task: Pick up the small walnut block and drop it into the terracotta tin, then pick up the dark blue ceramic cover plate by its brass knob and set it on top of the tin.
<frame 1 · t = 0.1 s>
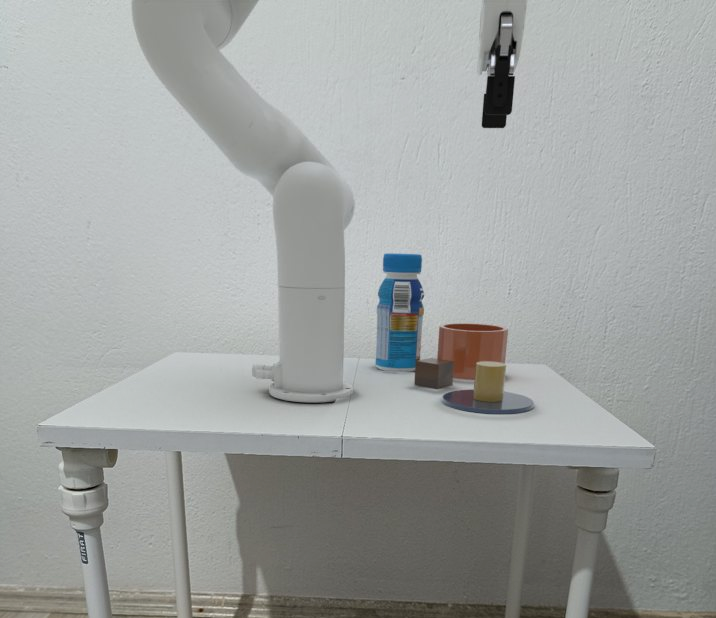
hand: (495, 121, 84), 37 cm above the table, tool pointing down, fingers open, 9 cm apart
cover: (487, 402, 95), point 1 cm above the table
beverage bottle: (397, 369, 122), on the table
block: (433, 388, 106), on the table
tin: (469, 376, 116), on the table
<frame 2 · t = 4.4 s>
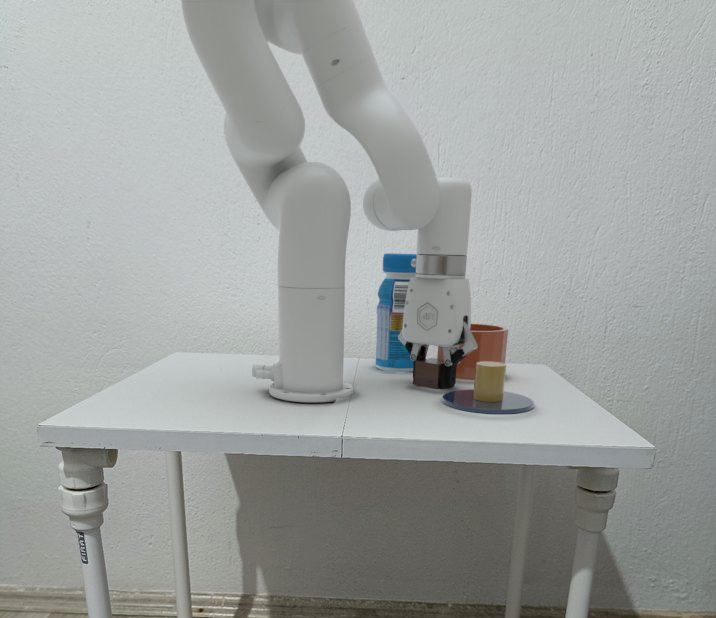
hand: (433, 386, 106), 0 cm above the table, tool pointing down, fingers closed on block, 4 cm apart
block: (433, 388, 106), on the table, touching gripper
everything else where it was.
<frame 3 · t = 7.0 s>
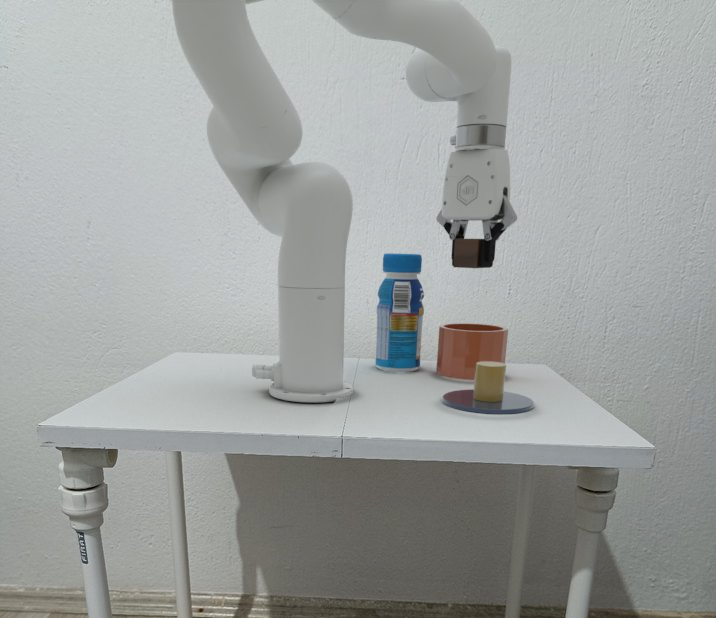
hand: (472, 265, 108), 19 cm above the table, tool pointing down, fingers closed on block, 4 cm apart
block: (472, 267, 108), point 18 cm above the table, touching gripper
everything else where it was.
when the fingers open (8 cm above the table, at t = 9.9 s): block drops 7 cm, resting on tin.
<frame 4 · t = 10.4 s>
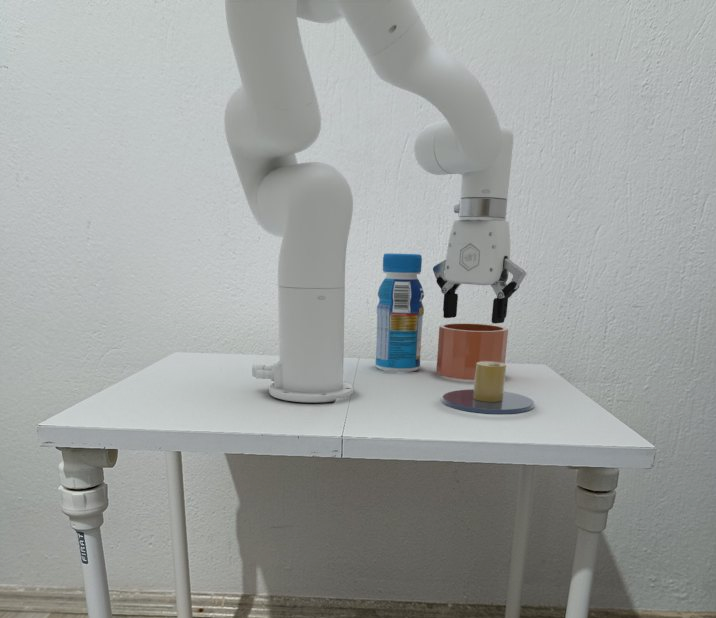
hand: (473, 320, 113), 10 cm above the table, tool pointing down, fingers open, 9 cm apart
block: (469, 373, 116), point 1 cm above the table, touching tin
everything else where it was.
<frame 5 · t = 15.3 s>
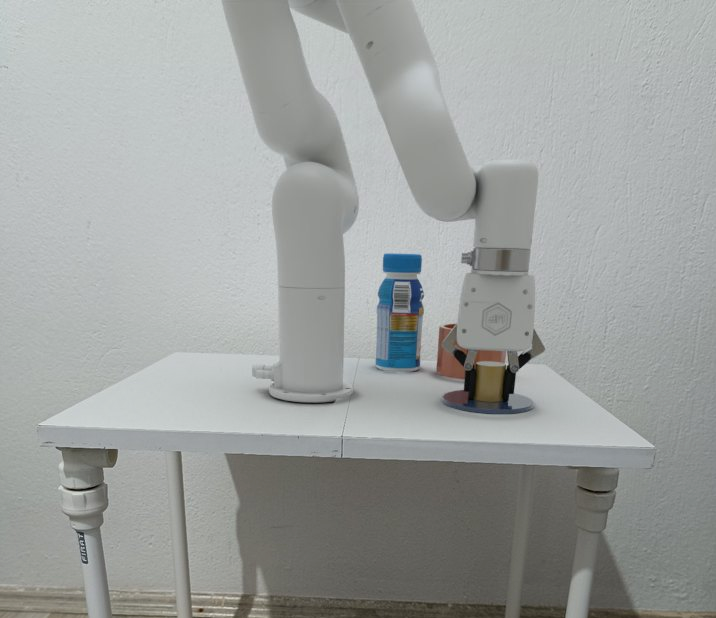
hand: (488, 396, 94), 2 cm above the table, tool pointing down, fingers closed on cover, 4 cm apart
cover: (487, 403, 95), point 1 cm above the table, touching gripper
everything else where it was.
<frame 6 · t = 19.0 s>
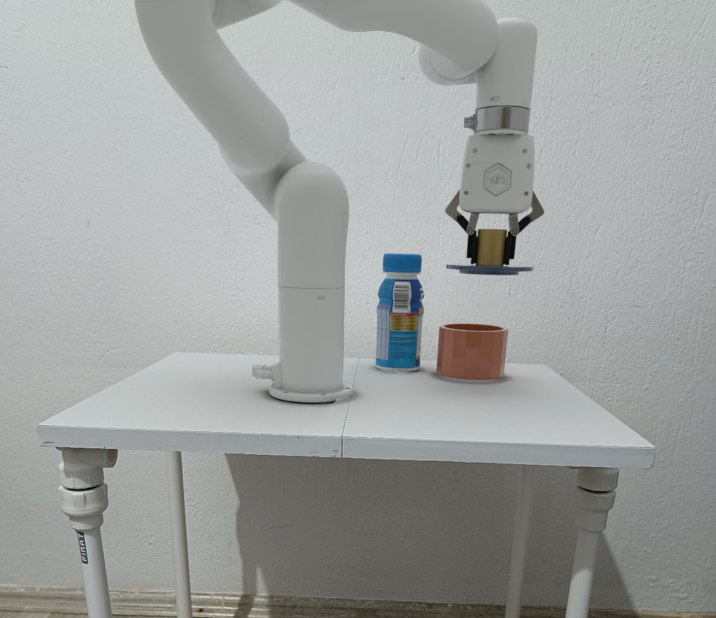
hand: (489, 262, 98), 19 cm above the table, tool pointing down, fingers closed on cover, 4 cm apart
cover: (489, 269, 99), point 18 cm above the table, touching gripper
everything else where it was.
when the fingers open (9 cm above the table, at t = 22.9 s): cover stays where it is, resting on tin.
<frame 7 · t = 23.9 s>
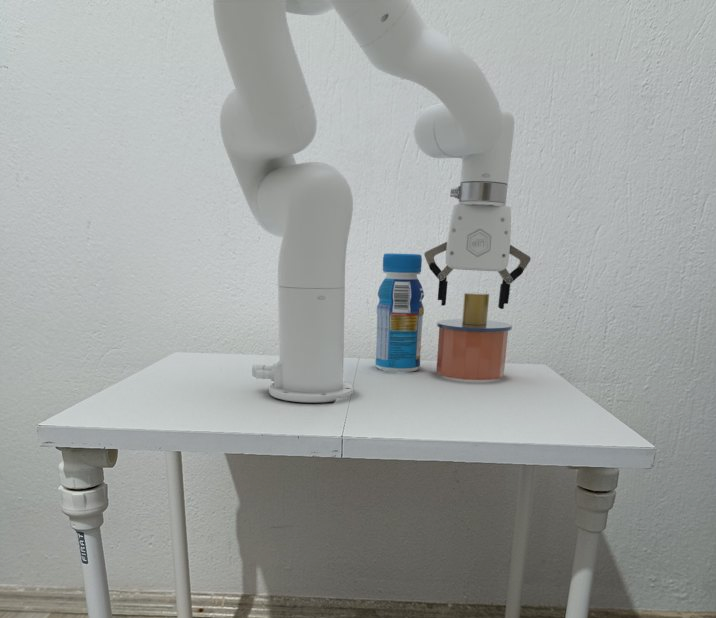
hand: (472, 306, 112), 12 cm above the table, tool pointing down, fingers open, 9 cm apart
cover: (473, 327, 114), point 8 cm above the table, touching tin
everything else where it was.
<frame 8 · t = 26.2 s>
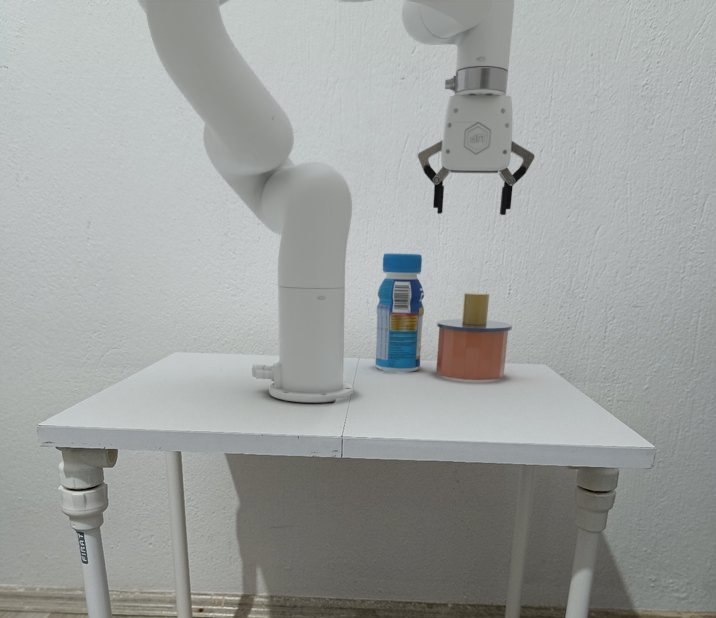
hand: (471, 213, 102), 26 cm above the table, tool pointing down, fingers open, 9 cm apart
nothing on the table moved.
at the end: block inside the target area in the tin (0.0 cm from its centre), point 0.5 cm above the tin's base; cover 0.1 cm off-centre on the tin, point 8.5 cm above the tin's base; cover tilted 0° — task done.
